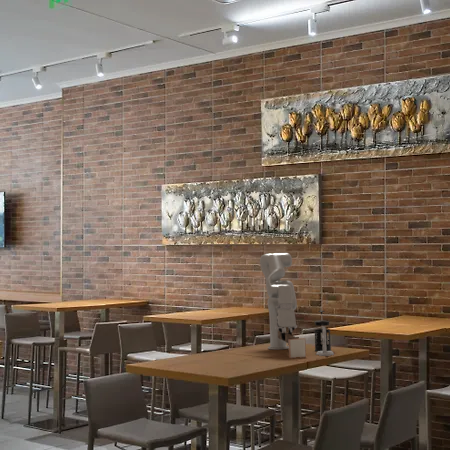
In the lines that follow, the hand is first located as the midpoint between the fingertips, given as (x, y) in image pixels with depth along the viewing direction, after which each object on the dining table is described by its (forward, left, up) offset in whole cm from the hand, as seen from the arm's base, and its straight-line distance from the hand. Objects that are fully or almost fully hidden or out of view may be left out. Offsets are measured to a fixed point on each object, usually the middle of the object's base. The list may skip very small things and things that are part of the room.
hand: (286, 339), depth 420 cm
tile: (+17, 0, -8) cm, 19 cm away
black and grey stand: (+14, +17, -8) cm, 24 cm away
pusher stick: (0, 0, -1) cm, 1 cm away
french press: (-2, +22, -8) cm, 24 cm away
